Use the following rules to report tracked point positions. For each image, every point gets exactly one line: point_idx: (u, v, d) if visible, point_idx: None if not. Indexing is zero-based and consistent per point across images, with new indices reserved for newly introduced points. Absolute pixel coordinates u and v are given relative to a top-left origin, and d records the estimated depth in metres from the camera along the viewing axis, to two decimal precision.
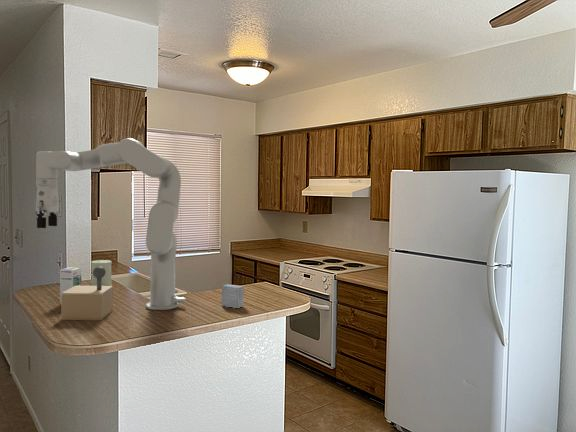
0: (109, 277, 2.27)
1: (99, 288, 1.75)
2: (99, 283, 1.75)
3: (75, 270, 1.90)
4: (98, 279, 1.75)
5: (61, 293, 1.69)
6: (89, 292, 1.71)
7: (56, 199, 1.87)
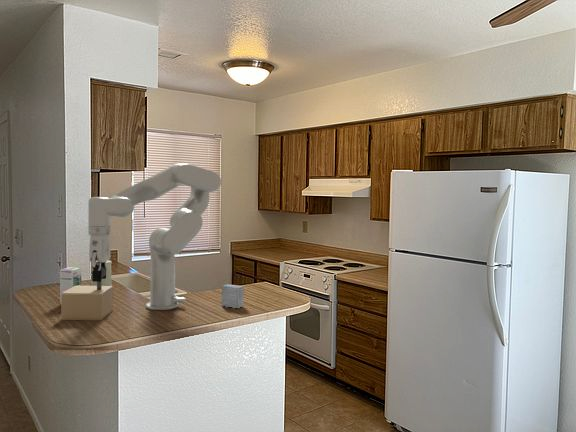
0: (109, 277, 2.27)
1: (99, 288, 1.75)
2: (99, 283, 1.75)
3: (75, 270, 1.90)
4: None
5: (61, 293, 1.69)
6: (89, 292, 1.71)
7: (108, 247, 1.77)
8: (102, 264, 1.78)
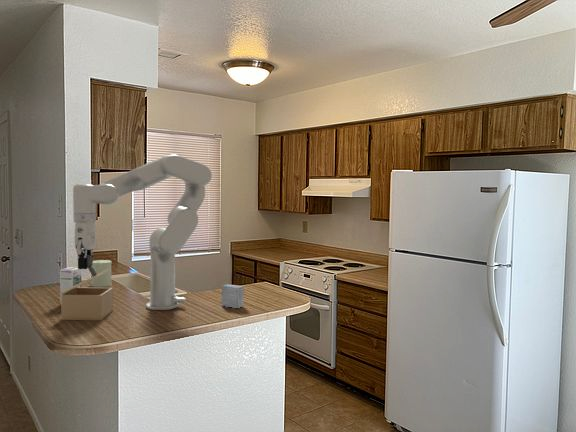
0: (109, 277, 2.27)
1: (94, 274, 1.75)
2: (91, 270, 1.75)
3: (75, 270, 1.90)
4: (89, 266, 1.74)
5: None
6: (85, 280, 1.70)
7: (94, 234, 1.76)
8: (88, 252, 1.78)
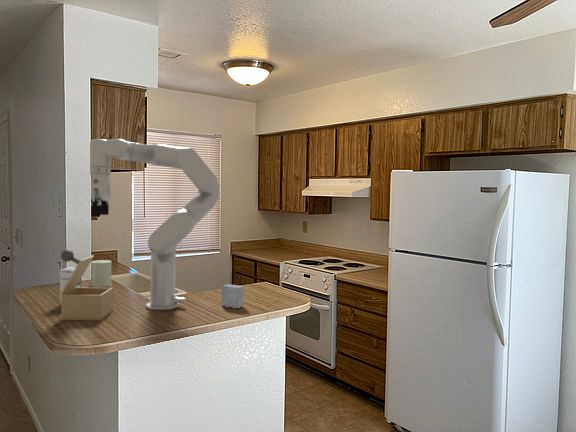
0: (109, 277, 2.27)
1: None
2: (76, 260, 1.74)
3: None
4: (72, 259, 1.74)
5: (60, 293, 1.69)
6: None
7: (108, 187, 1.87)
8: (105, 201, 1.91)
